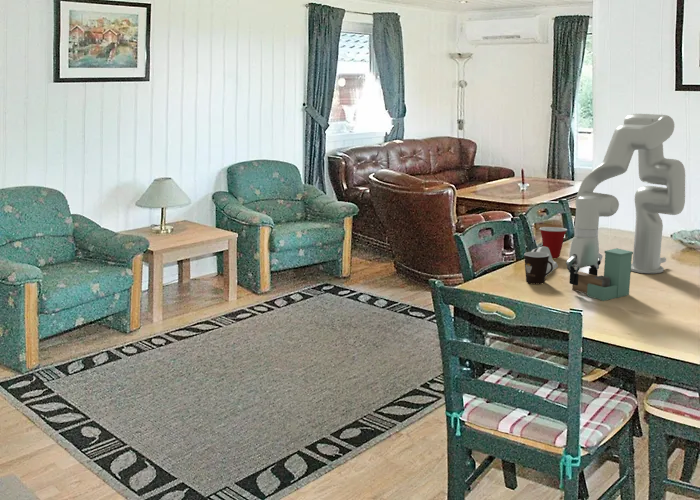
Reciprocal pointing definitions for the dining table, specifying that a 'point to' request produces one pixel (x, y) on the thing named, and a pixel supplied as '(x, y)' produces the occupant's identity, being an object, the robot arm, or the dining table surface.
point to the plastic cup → (553, 239)
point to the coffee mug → (536, 267)
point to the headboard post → (614, 275)
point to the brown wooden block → (590, 281)
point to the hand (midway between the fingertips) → (583, 282)
